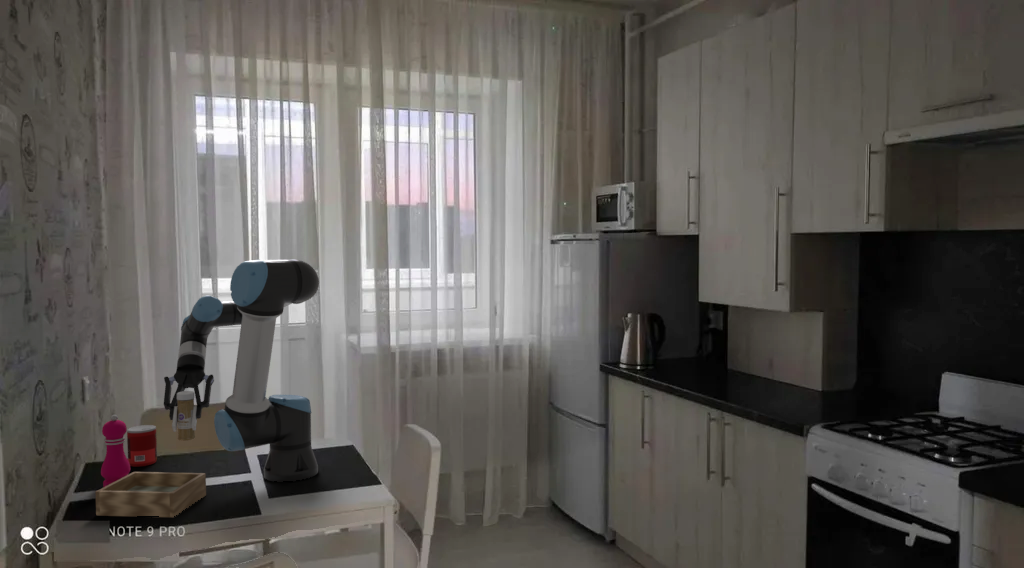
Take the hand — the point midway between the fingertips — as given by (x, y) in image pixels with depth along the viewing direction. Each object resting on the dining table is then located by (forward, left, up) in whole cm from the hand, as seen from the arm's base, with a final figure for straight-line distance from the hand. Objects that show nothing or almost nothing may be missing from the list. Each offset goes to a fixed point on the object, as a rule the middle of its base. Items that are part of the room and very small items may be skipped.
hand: (184, 428), depth 202 cm
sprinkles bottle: (+1, -4, -4) cm, 6 cm away
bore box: (0, +15, -16) cm, 22 cm away
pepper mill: (+19, +1, -16) cm, 25 cm away
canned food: (+24, -20, -16) cm, 35 cm away
